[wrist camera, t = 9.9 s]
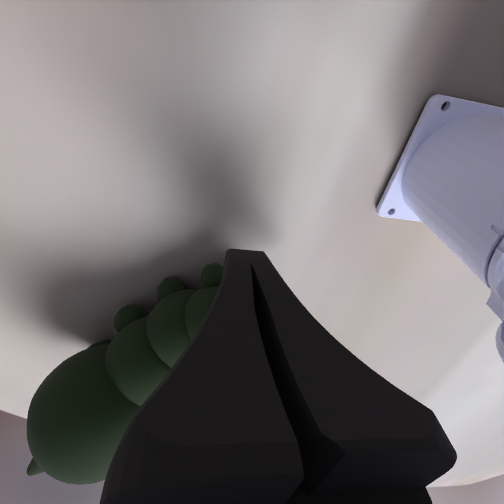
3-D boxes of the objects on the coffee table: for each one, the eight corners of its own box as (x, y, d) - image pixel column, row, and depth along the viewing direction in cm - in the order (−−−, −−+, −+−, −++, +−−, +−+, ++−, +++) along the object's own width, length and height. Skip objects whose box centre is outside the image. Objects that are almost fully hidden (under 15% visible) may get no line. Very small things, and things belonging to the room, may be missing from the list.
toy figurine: (227, 201, 23) (20, 359, 28) (290, 535, 7) (-195, 734, 13) (291, 274, 28) (104, 396, 33) (413, 566, 12) (22, 700, 18)
